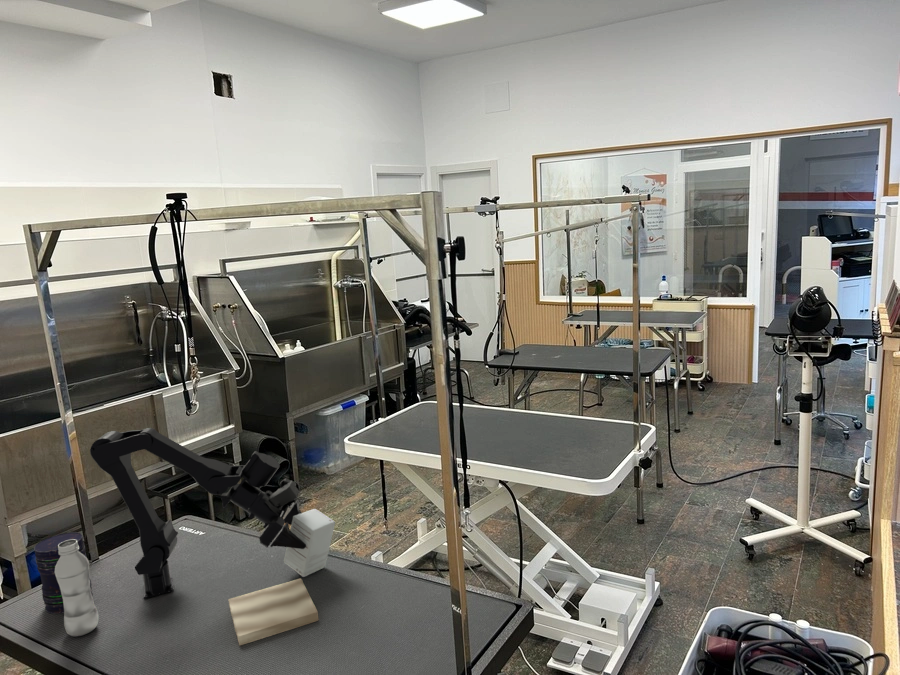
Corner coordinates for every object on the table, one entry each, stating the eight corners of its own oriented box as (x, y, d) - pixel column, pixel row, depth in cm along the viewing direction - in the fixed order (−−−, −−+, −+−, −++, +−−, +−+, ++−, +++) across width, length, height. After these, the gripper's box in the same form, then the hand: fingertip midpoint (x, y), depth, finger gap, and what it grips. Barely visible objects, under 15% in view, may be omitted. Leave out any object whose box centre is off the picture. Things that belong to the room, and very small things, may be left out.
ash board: (229, 607, 145) (228, 599, 144) (301, 586, 151) (300, 578, 151) (239, 645, 130) (238, 636, 130) (318, 620, 137) (317, 611, 137)
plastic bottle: (64, 644, 136) (47, 554, 133) (68, 627, 142) (52, 540, 139) (99, 634, 138) (83, 545, 135) (101, 618, 144) (86, 533, 141)
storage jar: (45, 599, 155) (34, 540, 152) (92, 586, 160) (82, 528, 157) (44, 619, 146) (32, 556, 144) (94, 604, 151) (83, 543, 149)
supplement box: (305, 552, 163) (315, 507, 160) (325, 567, 159) (336, 521, 156) (282, 562, 157) (292, 515, 154) (302, 578, 153) (313, 530, 150)
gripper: (264, 489, 145) (322, 529, 147) (282, 461, 163) (333, 496, 165) (235, 528, 146) (293, 567, 148) (256, 496, 165) (308, 530, 166)
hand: (308, 537), depth 157 cm, fingers closed on supplement box, 9 cm apart
